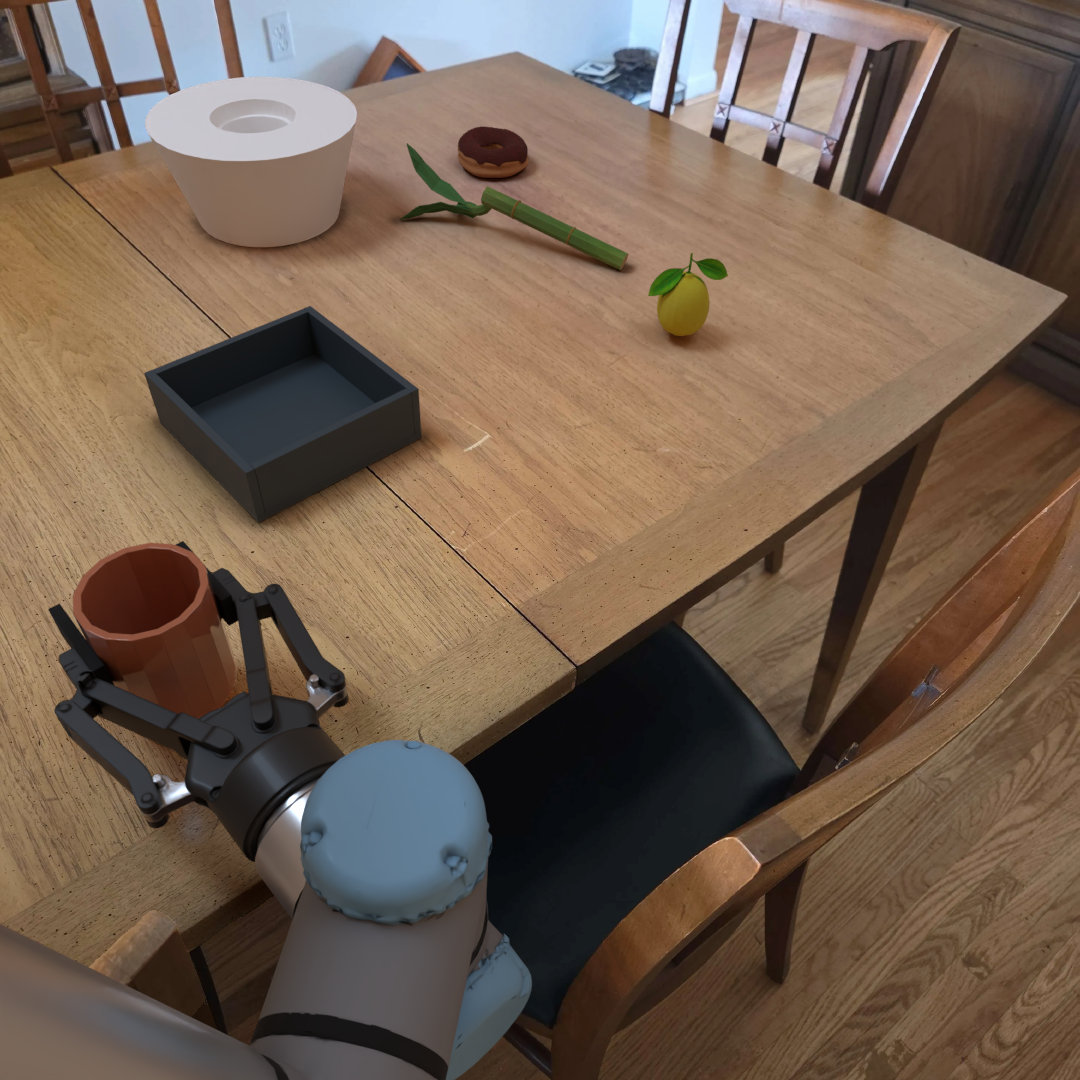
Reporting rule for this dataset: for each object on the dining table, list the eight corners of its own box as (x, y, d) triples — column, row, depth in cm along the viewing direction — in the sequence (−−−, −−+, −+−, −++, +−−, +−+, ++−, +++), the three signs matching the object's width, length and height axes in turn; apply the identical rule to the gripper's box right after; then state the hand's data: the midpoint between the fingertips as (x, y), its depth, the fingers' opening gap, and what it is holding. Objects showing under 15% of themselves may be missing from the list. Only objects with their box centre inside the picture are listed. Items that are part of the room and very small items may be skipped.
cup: (152, 751, 62) (108, 662, 54) (98, 676, 65) (50, 583, 58) (258, 686, 66) (231, 594, 58) (201, 618, 69) (169, 525, 62)
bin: (258, 523, 79) (245, 473, 75) (160, 422, 88) (143, 372, 84) (421, 437, 88) (418, 388, 84) (317, 354, 97) (310, 305, 92)
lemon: (716, 330, 103) (733, 247, 96) (698, 357, 99) (715, 273, 92) (660, 313, 105) (672, 231, 97) (640, 339, 101) (652, 256, 94)
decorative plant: (615, 267, 107) (390, 159, 110) (600, 318, 114) (389, 215, 117) (636, 237, 110) (416, 133, 113) (620, 288, 117) (414, 188, 120)
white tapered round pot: (300, 154, 129) (287, 62, 120) (404, 221, 117) (398, 124, 108) (135, 204, 117) (107, 106, 108) (233, 284, 105) (210, 181, 96)
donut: (522, 186, 125) (522, 156, 122) (450, 178, 126) (449, 148, 123) (533, 154, 132) (534, 125, 129) (465, 146, 133) (465, 118, 130)
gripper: (152, 971, 50) (-13, 702, 61) (454, 747, 60) (266, 551, 71) (112, 916, 45) (-61, 631, 56) (451, 680, 55) (249, 480, 66)
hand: (123, 587), depth 63 cm, fingers closed on cup, 8 cm apart
